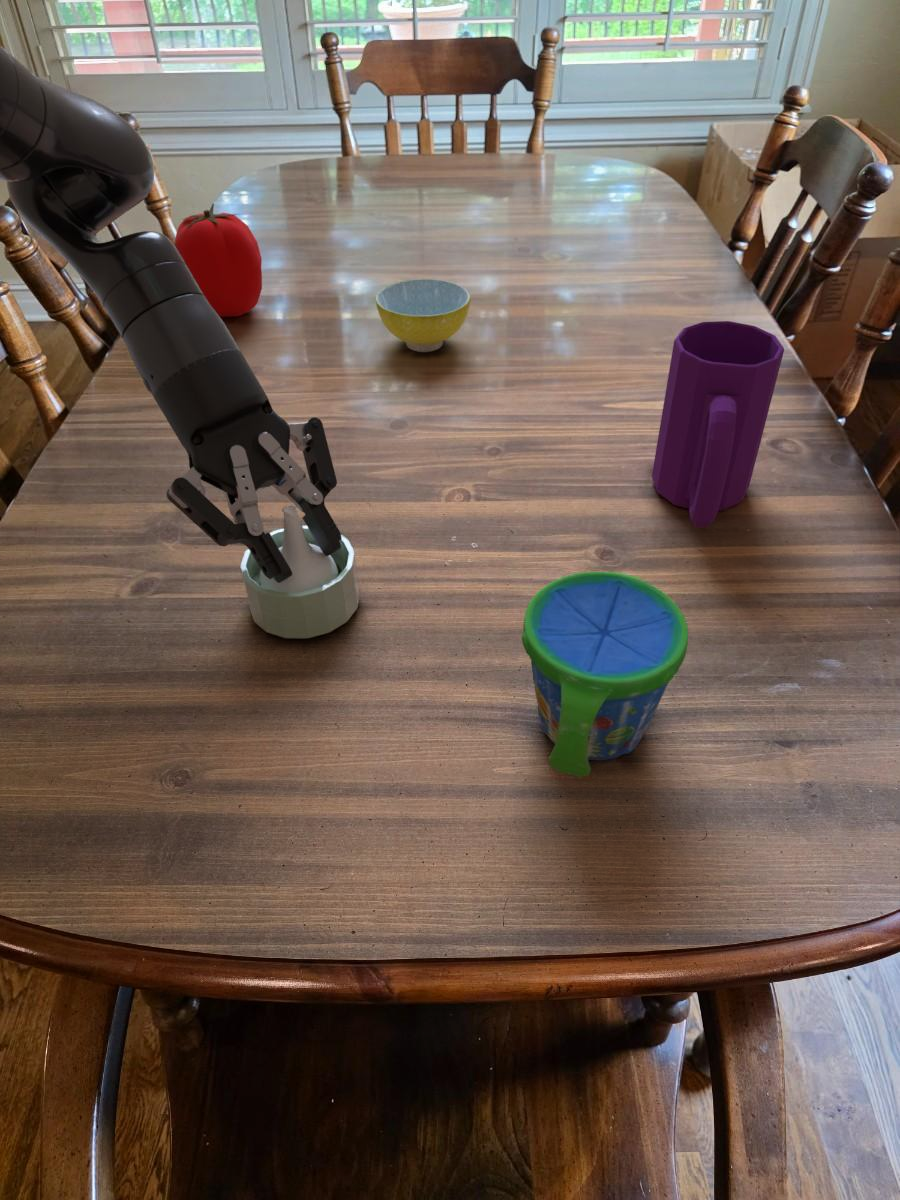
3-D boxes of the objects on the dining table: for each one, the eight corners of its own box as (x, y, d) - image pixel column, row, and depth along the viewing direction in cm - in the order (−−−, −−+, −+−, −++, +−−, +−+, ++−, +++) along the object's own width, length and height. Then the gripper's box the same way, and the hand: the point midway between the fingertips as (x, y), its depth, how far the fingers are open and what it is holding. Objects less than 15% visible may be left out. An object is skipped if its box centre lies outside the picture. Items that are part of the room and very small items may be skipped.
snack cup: (627, 837, 56) (648, 735, 49) (479, 778, 59) (479, 675, 52) (692, 676, 66) (717, 574, 59) (562, 634, 70) (572, 533, 63)
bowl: (437, 317, 115) (436, 270, 111) (487, 349, 107) (488, 300, 103) (362, 339, 110) (358, 291, 106) (409, 374, 103) (407, 324, 99)
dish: (293, 659, 68) (284, 612, 65) (230, 605, 73) (218, 559, 70) (381, 605, 73) (377, 559, 69) (316, 557, 77) (309, 511, 74)
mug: (746, 466, 87) (781, 323, 77) (751, 563, 76) (793, 410, 66) (653, 457, 89) (676, 315, 79) (644, 550, 77) (670, 399, 67)
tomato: (236, 338, 111) (215, 232, 102) (164, 319, 116) (139, 216, 107) (291, 305, 118) (277, 203, 110) (222, 288, 123) (203, 190, 114)
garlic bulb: (266, 623, 69) (249, 544, 64) (260, 573, 74) (244, 496, 68) (345, 610, 70) (335, 531, 65) (334, 562, 75) (324, 484, 69)
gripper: (118, 384, 60) (247, 599, 61) (287, 320, 67) (399, 514, 68) (103, 423, 66) (220, 617, 68) (259, 361, 73) (362, 538, 75)
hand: (309, 564), depth 68 cm, fingers closed on garlic bulb, 4 cm apart
